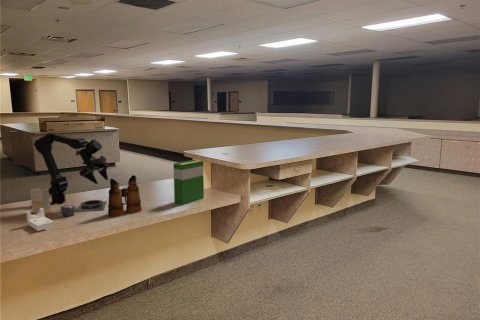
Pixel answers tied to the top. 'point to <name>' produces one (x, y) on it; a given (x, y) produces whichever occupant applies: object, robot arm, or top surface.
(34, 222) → the bracket
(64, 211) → the domed button housing
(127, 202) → the binoculars
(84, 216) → the top surface
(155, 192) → the top surface
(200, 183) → the hardback book
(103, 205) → the barrel plate
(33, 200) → the supplement box
